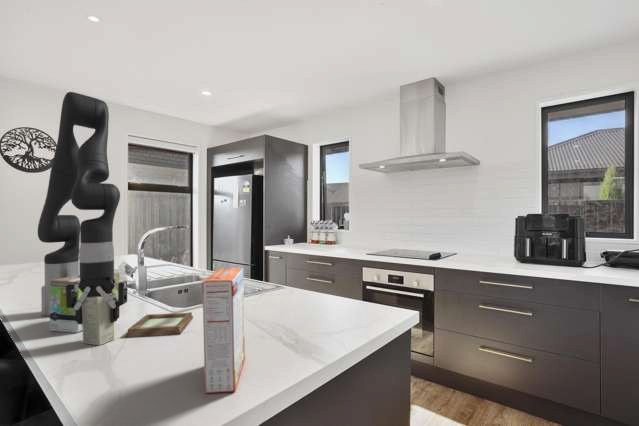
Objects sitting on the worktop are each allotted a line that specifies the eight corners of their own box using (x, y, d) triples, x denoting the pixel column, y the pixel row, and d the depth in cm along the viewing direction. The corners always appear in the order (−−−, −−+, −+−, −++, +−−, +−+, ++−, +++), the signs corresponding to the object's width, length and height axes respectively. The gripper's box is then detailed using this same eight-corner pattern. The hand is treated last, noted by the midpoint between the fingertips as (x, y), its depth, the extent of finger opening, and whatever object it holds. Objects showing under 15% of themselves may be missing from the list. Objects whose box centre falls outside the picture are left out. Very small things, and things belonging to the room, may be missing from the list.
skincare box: (114, 339, 88) (114, 293, 88) (98, 346, 83) (98, 298, 83) (97, 337, 90) (97, 292, 90) (80, 343, 85) (80, 296, 85)
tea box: (78, 333, 93) (77, 280, 93) (48, 331, 95) (48, 279, 95) (120, 317, 107) (120, 271, 107) (94, 315, 109) (94, 270, 109)
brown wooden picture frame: (126, 337, 89) (126, 329, 89) (146, 320, 103) (146, 314, 103) (180, 334, 91) (180, 326, 91) (193, 318, 105) (192, 312, 105)
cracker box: (218, 361, 74) (217, 267, 74) (246, 359, 75) (245, 267, 75) (201, 395, 60) (200, 280, 60) (235, 393, 61) (234, 279, 61)
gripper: (132, 256, 91) (133, 316, 91) (75, 258, 89) (76, 319, 89) (119, 260, 84) (120, 325, 84) (57, 262, 82) (58, 329, 82)
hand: (97, 322), depth 87 cm, fingers closed on skincare box, 7 cm apart
